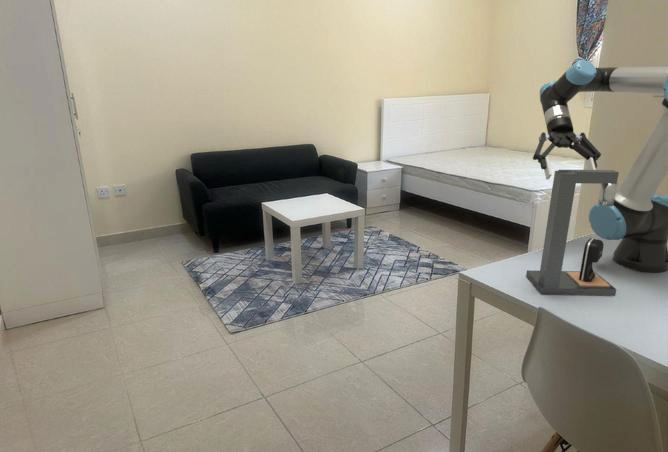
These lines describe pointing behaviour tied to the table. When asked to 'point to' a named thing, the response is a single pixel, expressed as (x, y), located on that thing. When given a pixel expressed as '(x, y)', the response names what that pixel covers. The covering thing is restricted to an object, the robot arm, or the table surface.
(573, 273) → the pad
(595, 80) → the robot arm
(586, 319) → the table surface
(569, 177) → the arbor press
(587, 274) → the battery charger
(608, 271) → the table surface
